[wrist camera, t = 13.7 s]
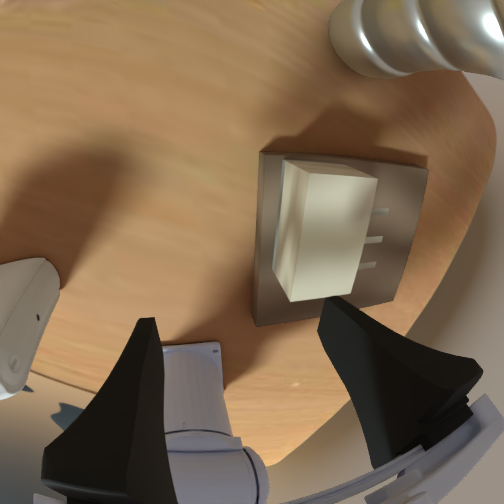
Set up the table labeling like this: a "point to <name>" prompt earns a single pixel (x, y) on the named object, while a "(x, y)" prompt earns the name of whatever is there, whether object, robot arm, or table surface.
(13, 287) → the photo printer
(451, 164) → the table surface
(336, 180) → the block
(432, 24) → the plastic bottle
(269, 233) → the grey flat square block
